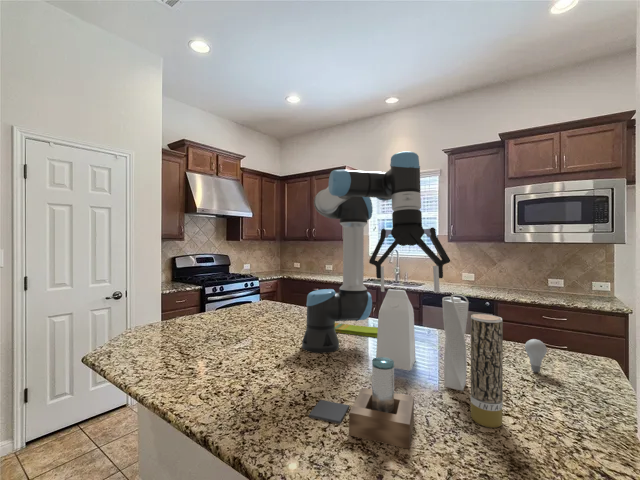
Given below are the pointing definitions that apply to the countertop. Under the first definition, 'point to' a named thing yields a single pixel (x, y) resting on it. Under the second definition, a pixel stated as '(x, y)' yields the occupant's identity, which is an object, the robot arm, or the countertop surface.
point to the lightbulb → (535, 353)
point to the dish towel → (356, 330)
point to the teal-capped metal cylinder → (383, 385)
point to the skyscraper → (455, 341)
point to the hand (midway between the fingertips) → (409, 291)
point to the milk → (396, 330)
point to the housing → (382, 420)
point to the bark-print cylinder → (487, 369)
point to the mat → (329, 411)
